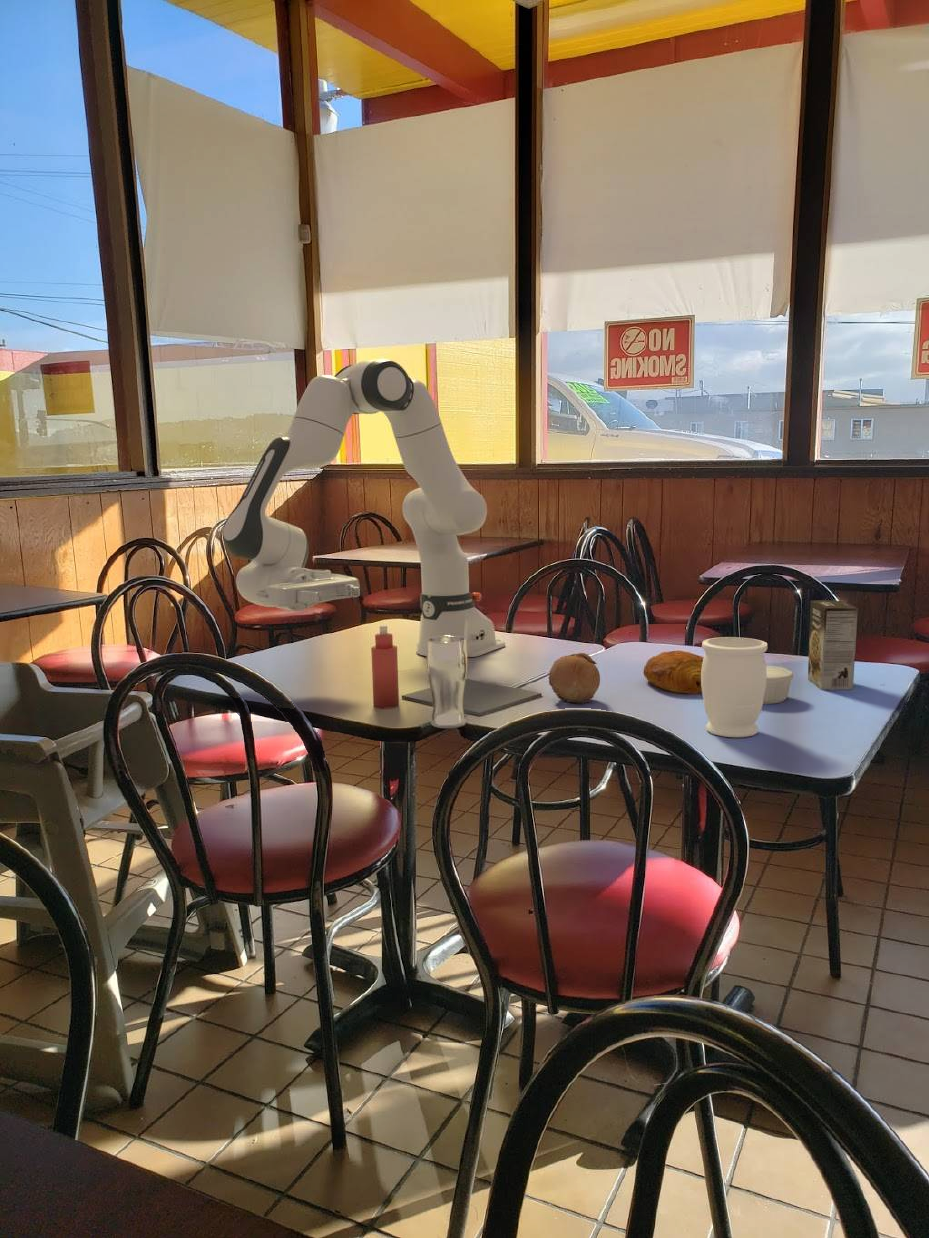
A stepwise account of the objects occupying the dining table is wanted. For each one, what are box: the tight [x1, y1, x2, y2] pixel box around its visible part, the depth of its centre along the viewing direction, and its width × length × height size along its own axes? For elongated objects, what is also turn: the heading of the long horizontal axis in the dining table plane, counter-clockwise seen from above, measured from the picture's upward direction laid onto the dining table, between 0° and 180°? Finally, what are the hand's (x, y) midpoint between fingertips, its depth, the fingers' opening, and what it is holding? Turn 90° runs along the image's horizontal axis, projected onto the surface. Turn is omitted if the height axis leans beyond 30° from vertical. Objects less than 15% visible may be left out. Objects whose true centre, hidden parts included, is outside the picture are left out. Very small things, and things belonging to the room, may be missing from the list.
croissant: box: [643, 650, 704, 695], centre depth 189 cm, size 14×16×8 cm
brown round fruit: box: [548, 652, 601, 704], centre depth 178 cm, size 10×9×10 cm
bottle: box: [370, 625, 400, 709], centre depth 178 cm, size 5×5×15 cm
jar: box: [701, 636, 768, 738], centre depth 156 cm, size 11×10×15 cm
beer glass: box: [426, 636, 468, 729], centre depth 164 cm, size 7×7×15 cm
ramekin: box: [763, 664, 794, 705], centre depth 178 cm, size 11×11×5 cm
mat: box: [401, 678, 543, 717], centre depth 183 cm, size 18×20×1 cm
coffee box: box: [807, 599, 858, 691], centre depth 186 cm, size 9×6×16 cm
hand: (338, 594), depth 183 cm, fingers open, 8 cm apart
